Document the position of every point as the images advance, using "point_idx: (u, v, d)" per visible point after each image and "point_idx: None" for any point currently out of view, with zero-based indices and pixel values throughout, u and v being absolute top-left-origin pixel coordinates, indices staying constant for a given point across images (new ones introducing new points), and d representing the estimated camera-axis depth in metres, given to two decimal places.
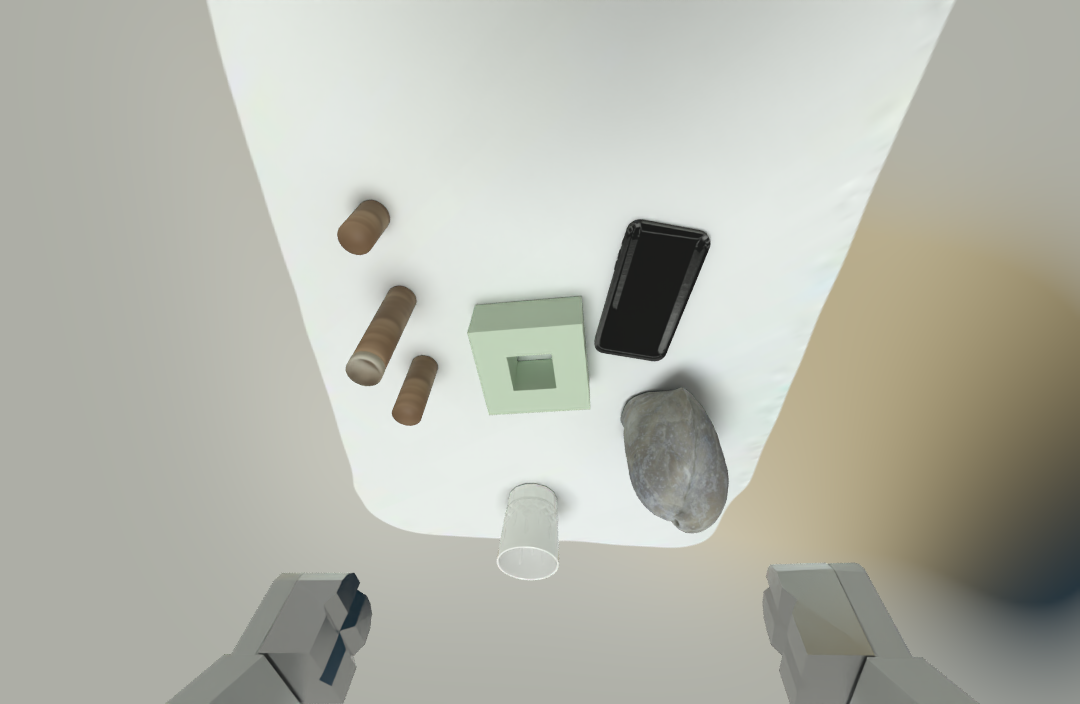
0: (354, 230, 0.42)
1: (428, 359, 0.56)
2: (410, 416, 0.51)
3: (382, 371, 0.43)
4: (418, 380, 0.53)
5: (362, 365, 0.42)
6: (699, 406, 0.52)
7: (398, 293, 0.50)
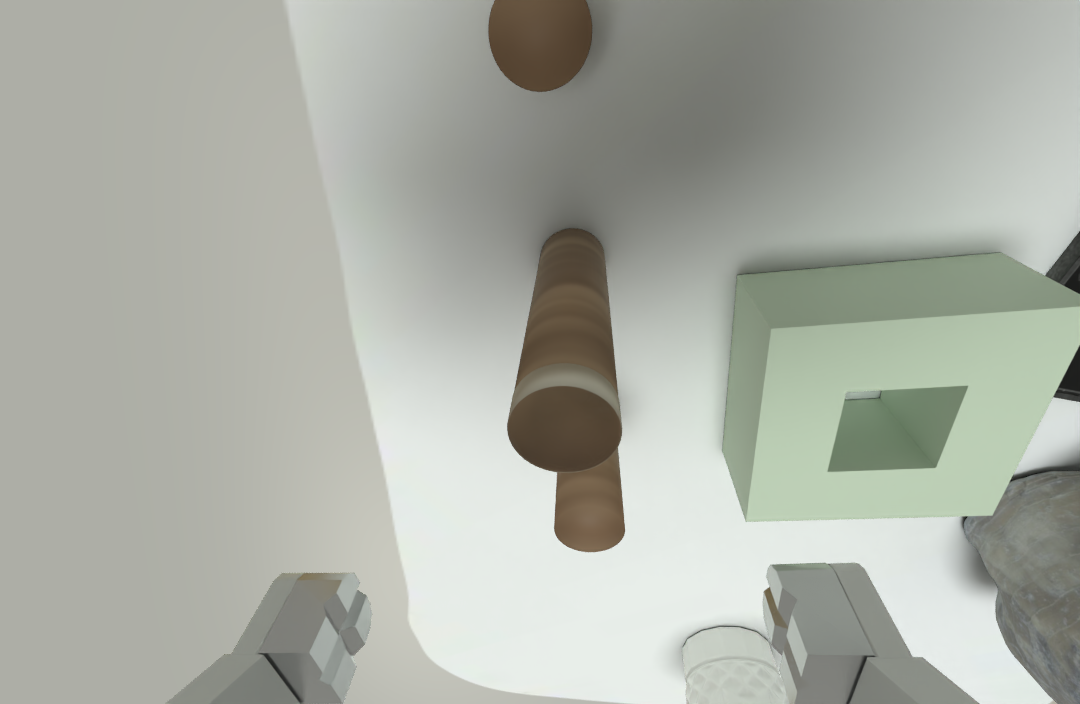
0: (543, 1, 0.14)
1: None
2: (597, 532, 0.22)
3: None
4: None
5: (567, 408, 0.13)
6: None
7: (581, 240, 0.21)
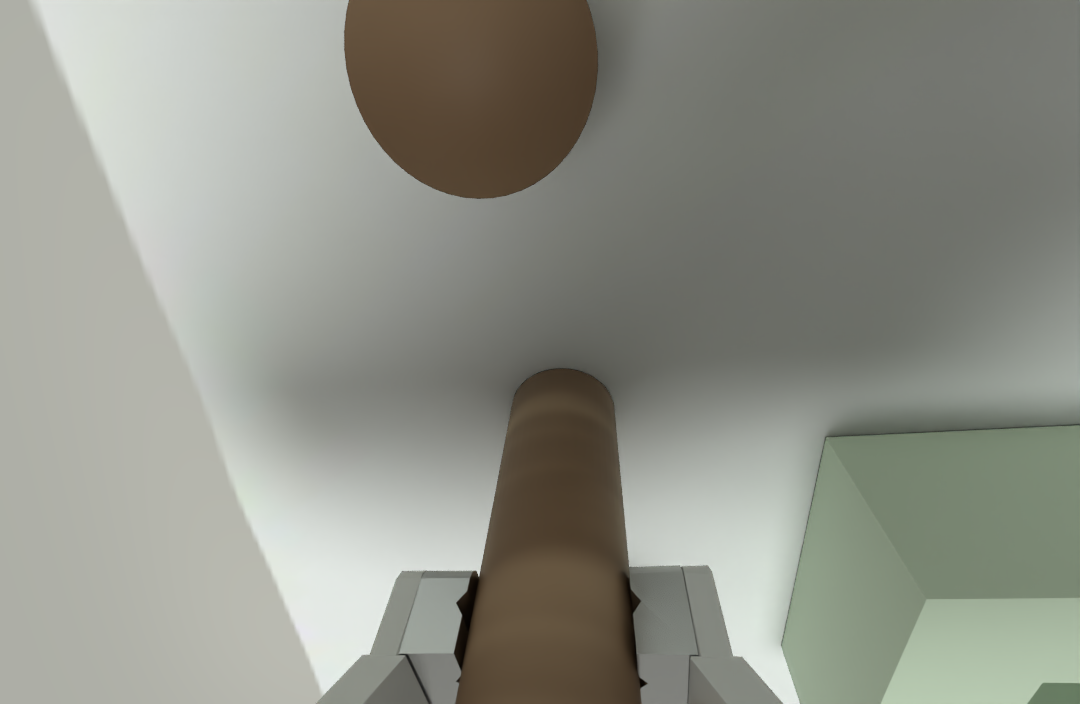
0: None
1: None
2: None
3: None
4: None
5: None
6: None
7: (576, 402, 0.13)
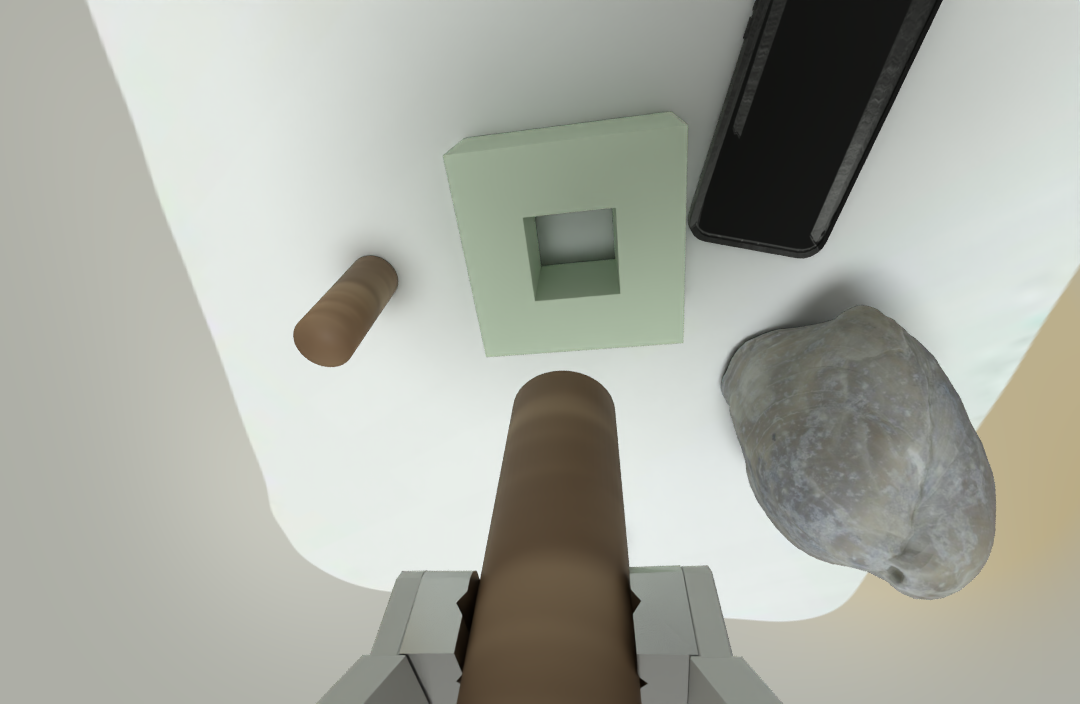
0: None
1: (378, 261, 0.31)
2: (331, 344, 0.25)
3: None
4: (353, 284, 0.28)
5: None
6: None
7: (577, 404, 0.13)
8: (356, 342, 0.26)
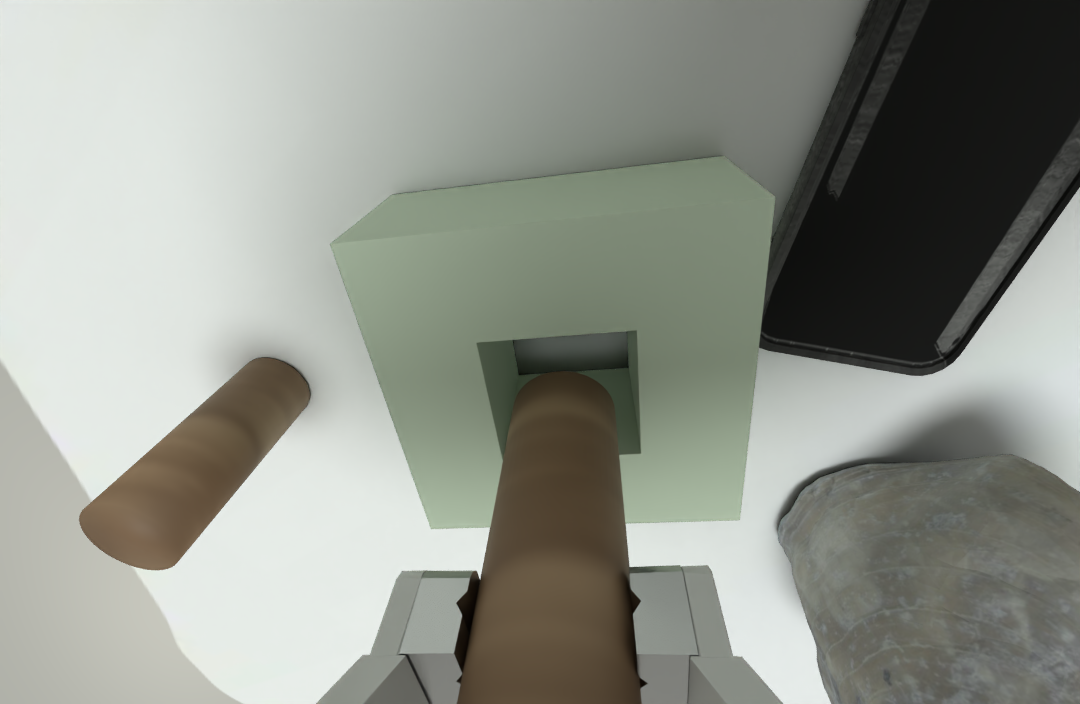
0: None
1: (274, 367, 0.21)
2: (143, 542, 0.15)
3: None
4: (211, 421, 0.18)
5: None
6: None
7: (577, 405, 0.13)
8: (189, 534, 0.16)
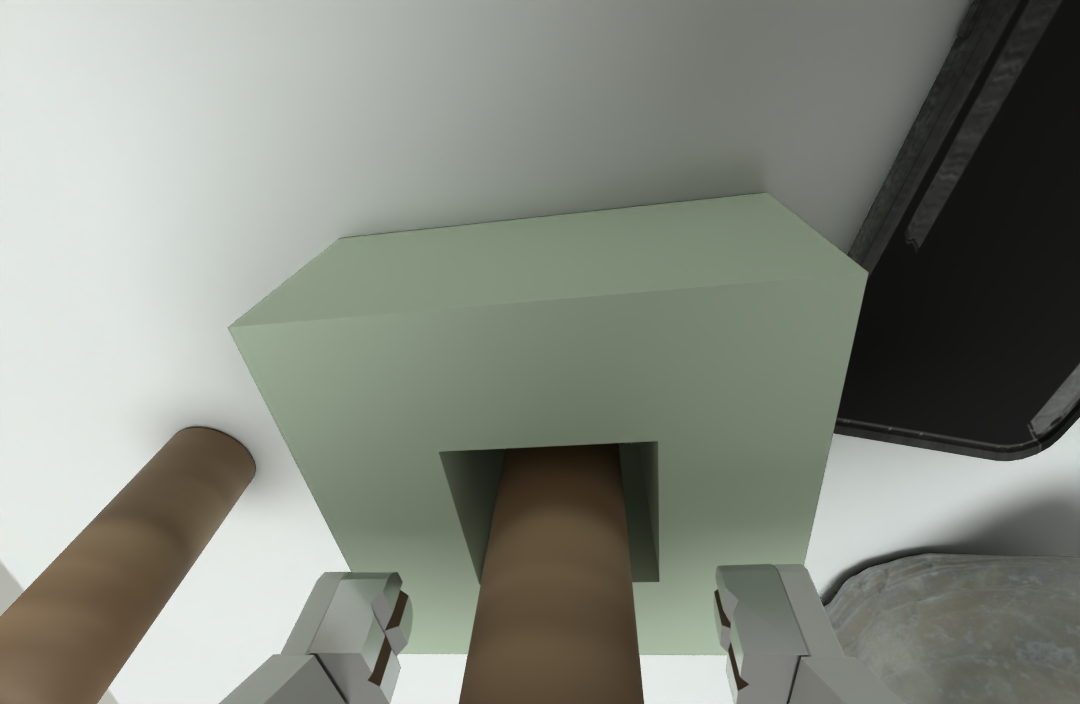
0: None
1: (206, 439, 0.17)
2: None
3: None
4: (119, 529, 0.14)
5: None
6: None
7: None
8: (91, 692, 0.12)
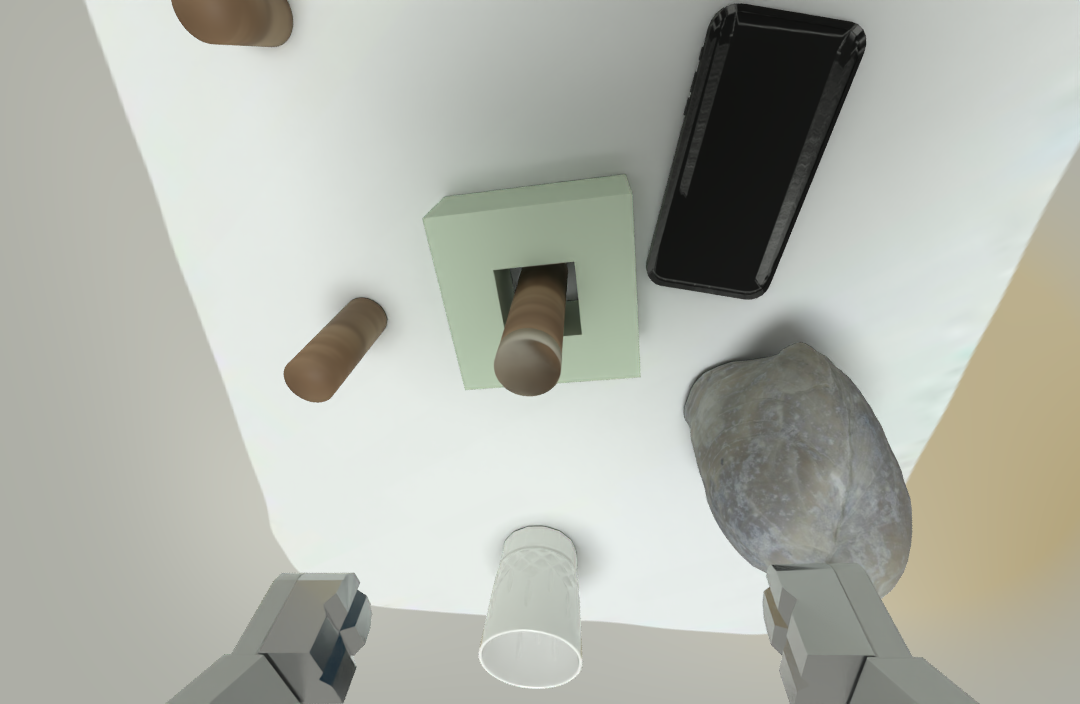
0: None
1: (365, 302, 0.34)
2: (316, 382, 0.29)
3: None
4: (338, 326, 0.31)
5: (528, 353, 0.22)
6: None
7: None
8: (338, 378, 0.29)
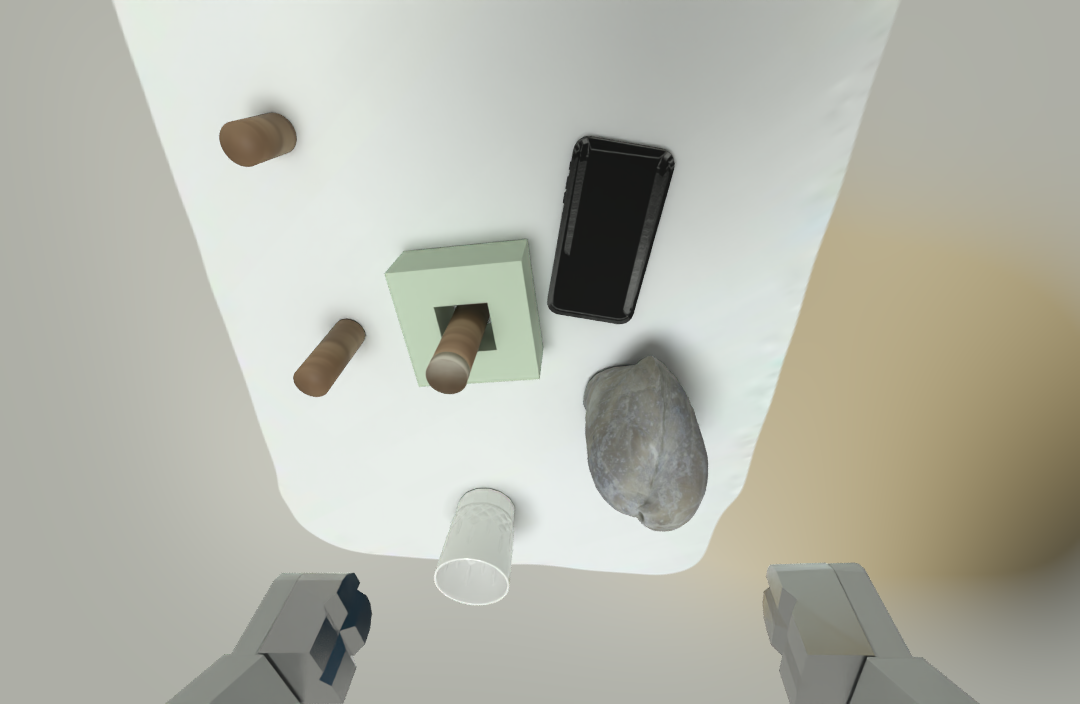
0: (239, 132, 0.35)
1: (347, 322, 0.48)
2: (315, 383, 0.42)
3: (468, 376, 0.36)
4: (328, 343, 0.45)
5: (446, 367, 0.36)
6: (671, 374, 0.43)
7: None
8: (330, 379, 0.42)
